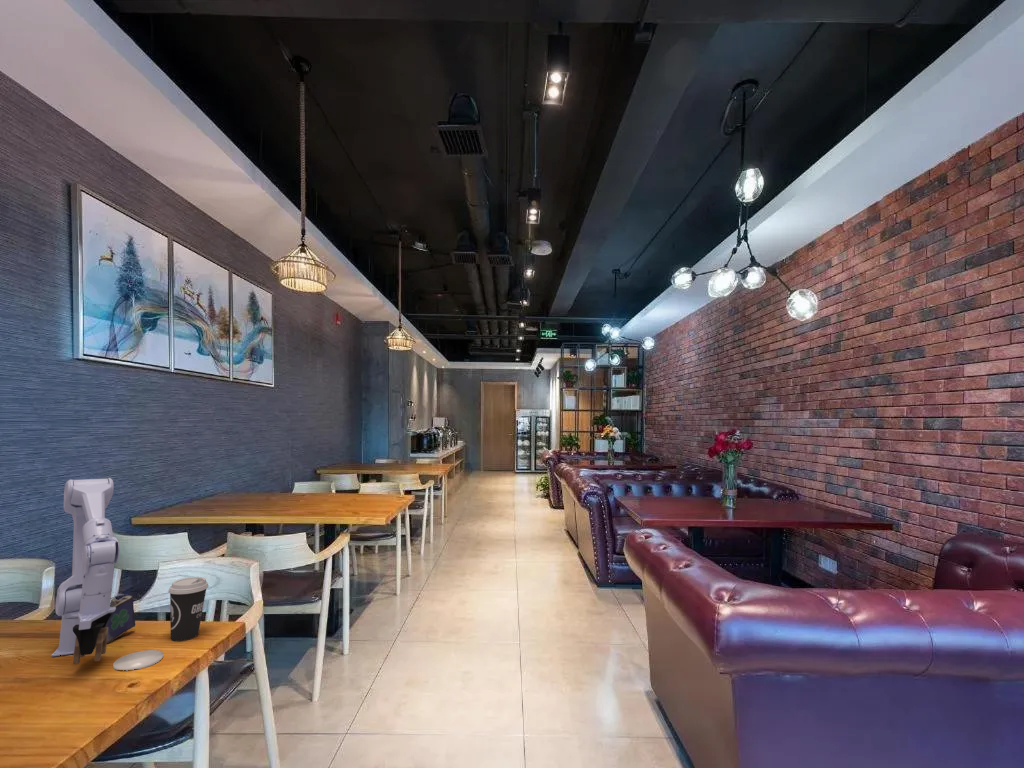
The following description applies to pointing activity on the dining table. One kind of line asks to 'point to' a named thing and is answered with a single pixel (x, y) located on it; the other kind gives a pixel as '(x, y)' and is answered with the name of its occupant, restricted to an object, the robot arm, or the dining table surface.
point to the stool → (100, 646)
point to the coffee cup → (186, 607)
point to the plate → (138, 660)
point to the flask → (120, 617)
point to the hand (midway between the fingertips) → (90, 649)
